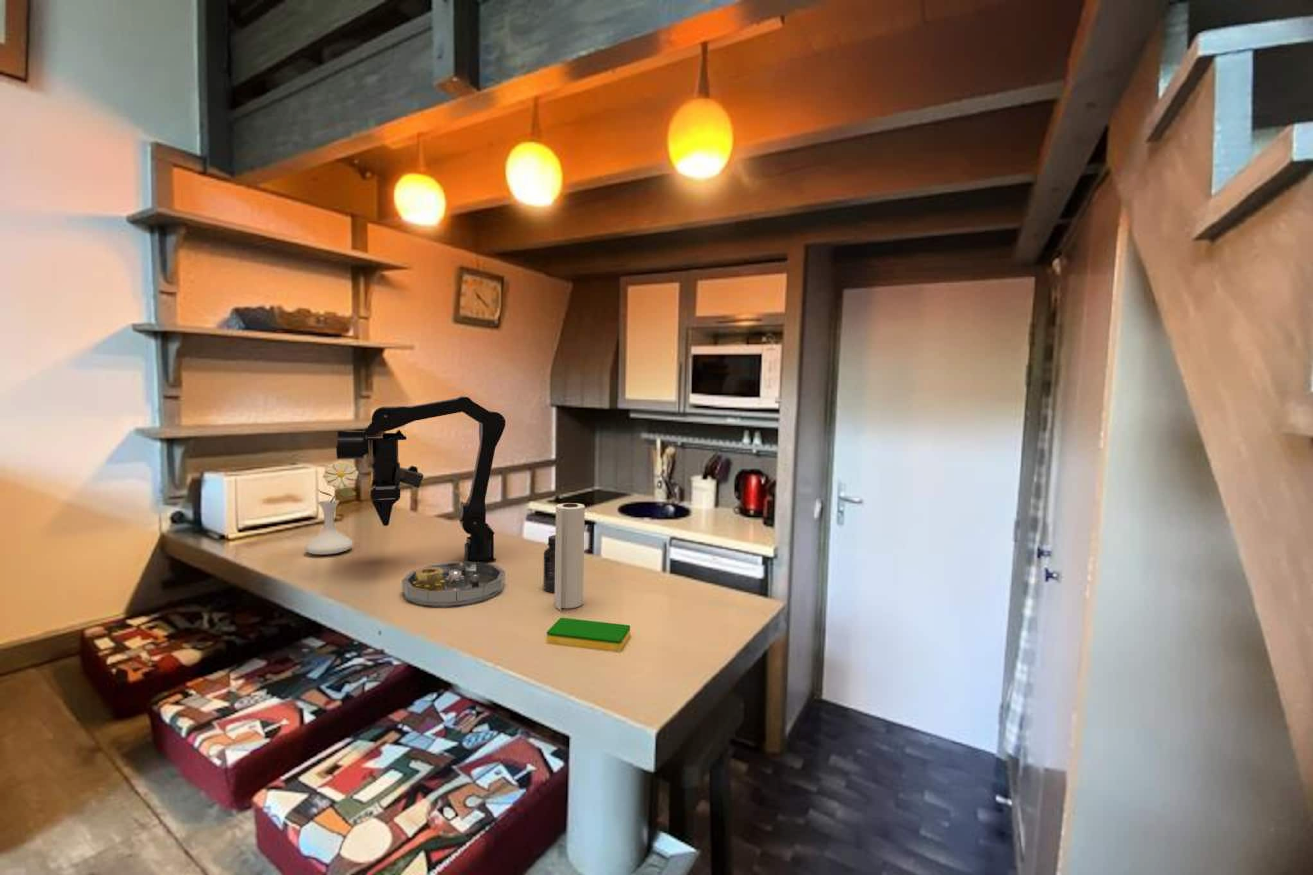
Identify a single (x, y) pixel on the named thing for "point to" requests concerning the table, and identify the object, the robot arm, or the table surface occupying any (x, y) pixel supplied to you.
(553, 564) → the supplement bottle
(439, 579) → the planet gear
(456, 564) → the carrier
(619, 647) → the dish sponge
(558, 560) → the paper towel roll
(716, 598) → the table surface
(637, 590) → the table surface
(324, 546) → the flower in vase
